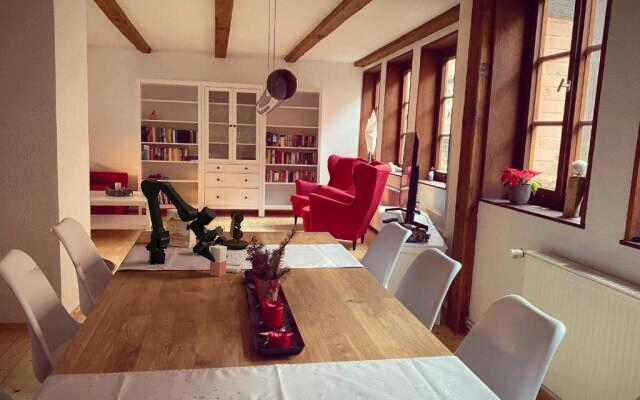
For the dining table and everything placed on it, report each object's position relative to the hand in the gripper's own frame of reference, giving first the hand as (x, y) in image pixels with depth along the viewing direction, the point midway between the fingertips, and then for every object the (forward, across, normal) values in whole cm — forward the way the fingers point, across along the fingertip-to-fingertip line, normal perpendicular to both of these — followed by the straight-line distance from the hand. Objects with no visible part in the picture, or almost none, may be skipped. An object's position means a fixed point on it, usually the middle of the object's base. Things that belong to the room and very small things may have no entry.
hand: (220, 259), depth 214 cm
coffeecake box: (-31, +37, +41) cm, 63 cm away
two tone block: (+4, 0, +6) cm, 7 cm away
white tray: (+4, +10, +6) cm, 12 cm away
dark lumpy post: (-13, +51, +23) cm, 57 cm away
